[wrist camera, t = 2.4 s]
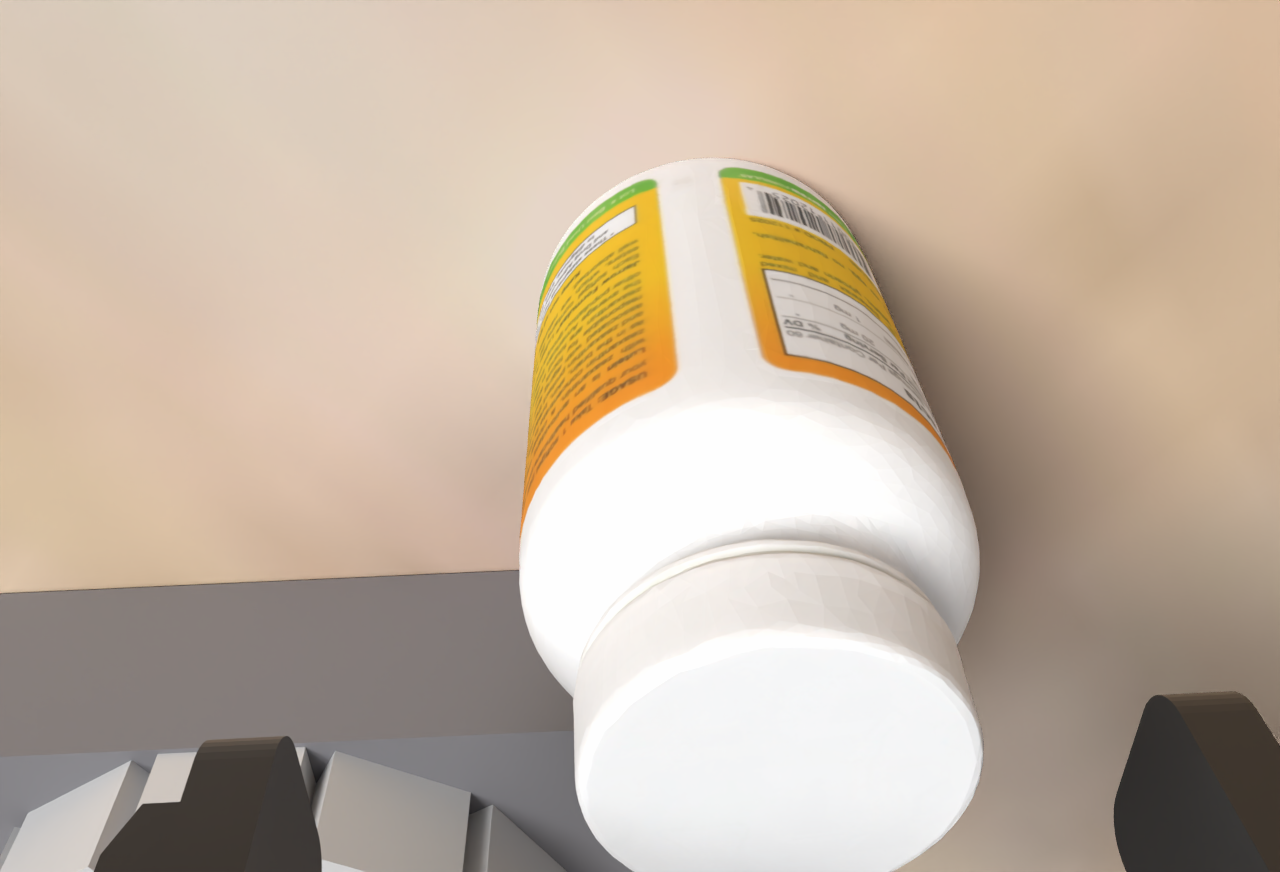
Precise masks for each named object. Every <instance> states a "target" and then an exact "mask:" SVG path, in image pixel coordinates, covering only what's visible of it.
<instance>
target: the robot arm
mask: <svg viewBox="0 0 1280 872" xmlns="http://www.w3.org/2000/svg"><path fill="white" fill-rule="evenodd" d="M1114 827H1115V835H1116V840H1117V845H1118V849H1119V853H1120V856H1121V859H1122V862H1123V864H1124V867H1125V869H1126V871H1127V872H1280V746H1279V744H1278V742H1277V741H1276V739H1275V738H1274V736H1273V735H1272V733H1271V731H1270V730H1269V728H1268V727H1267V725H1266V724H1265V722H1264V721H1263V719H1262V717H1261V716H1260V714H1259V713H1258V711H1257V710H1256V708H1255V707H1254V706H1253V704H1252V703H1251V702H1250V701H1249V700H1248V699H1247V698H1246V697H1245V696H1243V695H1242V694H1240V693H1238V692H1232V691H1230V692H1210V693H1190V694H1170V695H1156V696H1153V697H1152V698H1151V699H1150V700H1149V701H1148V703H1147V704H1146V706H1145V709H1144V712H1143V715H1142V718H1141V721H1140V724H1139V727H1138V730H1137V733H1136V736H1135V739H1134V742H1133V745H1132V748H1131V751H1130V754H1129V757H1128V760H1127V764H1126V767H1125V770H1124V773H1123V776H1122V779H1121V782H1120V785H1119V788H1118V791H1117V794H1116V798H1115V804H1114ZM94 872H322V856H321V845H320V839H319V834H318V830H317V827H316V823H315V819H314V815H313V812H312V808H311V804H310V801H309V797H308V793H307V789H306V786H305V782H304V778H303V774H302V771H301V767H300V763H299V760H298V756H297V752H296V749H295V746H294V743H293V741H292V739H291V738H290V737H288V736H275V737H256V738H236V739H216V740H206V741H205V742H204V743H202V745H201V746H200V747H199V749H198V751H197V753H196V756H195V758H194V761H193V764H192V767H191V770H190V773H189V776H188V779H187V782H186V785H185V788H184V791H183V794H182V797H181V800H180V802H166V803H147V804H142V805H141V806H140V807H139V809H138V810H137V811H136V812H135V813H134V815H133V816H132V817H131V818H130V819H129V821H128V822H127V823H126V824H125V825H124V827H123V828H122V829H121V830H120V831H119V833H118V834H117V835H116V836H115V837H114V839H113V840H112V841H111V842H110V843H109V845H108V846H107V847H106V848H105V849H104V851H103V852H102V853H101V854H100V856H99V859H98V862H97V864H96V867H95V870H94Z"/></svg>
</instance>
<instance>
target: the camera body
mask: <svg viewBox="0 0 1280 872" xmlns="http://www.w3.org/2000/svg"><path fill="white" fill-rule="evenodd" d="M519 573H520V570H518V571H496V572H474V573H452V574H430V575H408V576H385V577H363V578H341V579H319V580H297V581H275V582H252V583H230V584H208V585H186V586H164V587H142V588H120V589H97V590H75V591H53V592H31V593H9V594H0V872H94V870H95V867H96V864H97V862H98V859H99V856H100V854H101V853H102V852H103V851H104V849H105V848H106V847H107V846H108V845H109V843H110V842H111V841H112V840H113V839H114V837H115V836H116V835H117V834H118V833H119V831H120V830H121V829H122V828H123V827H124V825H125V824H126V823H127V822H128V821H129V819H130V818H131V817H132V816H133V815H134V813H135V812H136V811H137V810H138V809H139V807H140V806H141V805H142V804H147V803H166V802H180V800H181V797H182V794H183V791H184V788H185V785H186V782H187V779H188V776H189V773H190V770H191V767H192V764H193V761H194V758H195V756H196V753H197V751H198V749H199V747H200V746H201V745H202V743H204V742H205V741H206V740H216V739H236V738H256V737H275V736H288V737H290V738H291V739H292V741H293V743H294V746H295V749H296V752H297V756H298V760H299V763H300V767H301V771H302V774H303V778H304V782H305V786H306V789H307V793H308V797H309V801H310V804H311V808H312V812H313V815H314V819H315V823H316V827H317V830H318V834H319V839H320V845H321V856H322V872H634V871H632V870H630V869H629V868H628V867H626V866H625V865H624V864H622V863H621V862H619V861H618V860H617V859H615V858H614V857H613V856H612V855H611V854H610V853H609V852H608V851H606V849H605V848H604V847H603V846H602V845H601V844H600V843H599V842H598V840H597V839H596V838H595V836H594V835H593V833H592V831H591V830H590V828H589V826H588V824H587V822H586V821H585V819H584V816H583V813H582V810H581V807H580V805H579V801H578V797H577V793H576V786H575V763H574V712H573V699H574V698H573V697H572V696H571V695H570V694H569V693H568V692H567V691H566V690H565V689H564V688H563V686H562V685H561V684H560V683H559V682H558V681H557V680H556V679H555V677H554V676H553V675H552V673H551V672H550V671H549V669H548V668H547V666H546V664H545V663H544V661H543V660H542V658H541V656H540V655H539V653H538V651H537V649H536V647H535V645H534V643H533V640H532V638H531V636H530V633H529V630H528V627H527V624H526V621H525V617H524V612H523V608H522V603H521V594H520V586H519Z"/></svg>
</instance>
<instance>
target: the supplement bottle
mask: <svg viewBox="0 0 1280 872" xmlns="http://www.w3.org/2000/svg"><path fill="white" fill-rule="evenodd" d="M519 567H520V573H519V586H520V594H521V603H522V608H523V612H524V617H525V621H526V624H527V627H528V630H529V633H530V636H531V638H532V640H533V643H534V645H535V647H536V649H537V651H538V653H539V655H540V656H541V658H542V660H543V661H544V663H545V664H546V666H547V668H548V669H549V671H550V672H551V673H552V675H553V676H554V677H555V679H556V680H557V681H558V682H559V683H560V684H561V685H562V686H563V688H564V689H565V690H566V691H567V692H568V693H569V694H570V695H571V696H572V697H573V698H574V699H573V712H574V763H575V786H576V793H577V797H578V801H579V805H580V807H581V810H582V813H583V816H584V819H585V821H586V822H587V824H588V826H589V828H590V830H591V831H592V833H593V835H594V836H595V838H596V839H597V840H598V842H599V843H600V844H601V845H602V846H603V847H604V848H605V849H606V851H608V852H609V853H610V854H611V855H612V856H613V857H614V858H615V859H617V860H618V861H619V862H621V863H622V864H624V865H625V866H626V867H628V868H629V869H630V870H632V871H634V872H892V871H895V870H897V869H898V868H900V867H902V866H903V865H905V864H907V863H908V862H910V861H912V860H913V859H915V858H916V857H918V856H920V855H921V854H922V853H924V852H925V851H926V850H928V849H929V848H930V847H931V846H933V845H934V844H935V843H937V842H938V841H939V840H940V839H941V838H942V837H943V836H944V835H945V834H946V833H947V832H948V831H949V830H950V829H951V828H952V827H953V825H954V824H955V823H956V822H957V821H958V819H959V818H960V817H961V815H962V814H963V812H964V811H965V810H966V808H967V807H968V805H969V803H970V801H971V800H972V798H973V796H974V793H975V791H976V788H977V785H978V783H979V779H980V775H981V770H982V766H983V751H984V742H983V734H982V728H981V724H980V721H979V717H978V714H977V711H976V708H975V704H974V701H973V698H972V695H971V692H970V688H969V685H968V682H967V679H966V676H965V673H964V670H963V665H962V660H961V657H960V654H959V651H958V648H957V644H958V643H959V641H960V639H961V637H962V635H963V633H964V631H965V628H966V626H967V624H968V622H969V619H970V616H971V614H972V611H973V608H974V603H975V598H976V594H977V589H978V582H979V575H980V550H979V543H978V537H977V530H976V526H975V522H974V518H973V514H972V511H971V508H970V505H969V503H968V500H967V497H966V494H965V491H964V487H963V484H962V482H961V479H960V477H959V475H958V472H957V470H956V468H955V465H954V463H953V460H952V458H951V455H950V453H949V451H948V449H947V447H946V444H945V442H944V440H943V438H942V435H941V433H940V431H939V428H938V426H937V424H936V421H935V419H934V417H933V414H932V412H931V410H930V407H929V405H928V403H927V400H926V398H925V396H924V393H923V391H922V389H921V386H920V384H919V382H918V379H917V377H916V374H915V372H914V369H913V367H912V364H911V362H910V360H909V358H908V355H907V353H906V351H905V348H904V346H903V343H902V341H901V339H900V336H899V334H898V332H897V329H896V327H895V325H894V323H893V320H892V318H891V316H890V313H889V311H888V309H887V306H886V304H885V302H884V299H883V297H882V294H881V292H880V290H879V287H878V285H877V283H876V280H875V278H874V276H873V274H872V271H871V269H870V267H869V264H868V262H867V260H866V258H865V256H864V254H863V252H862V251H861V249H860V247H859V245H858V243H857V241H856V240H855V238H854V236H853V234H852V233H851V231H850V229H849V228H848V226H847V225H846V223H845V222H844V220H843V219H842V218H841V217H840V216H839V214H838V213H837V212H836V211H835V210H834V209H833V208H832V207H831V206H830V205H829V203H828V202H827V201H825V200H824V199H823V198H822V197H821V196H820V195H818V194H817V193H816V192H815V191H813V190H812V189H811V188H809V187H808V186H806V185H805V184H803V183H801V182H800V181H798V180H797V179H795V178H793V177H791V176H789V175H787V174H784V173H782V172H780V171H778V170H776V169H773V168H770V167H768V166H765V165H761V164H757V163H753V162H749V161H744V160H737V159H731V158H696V159H688V160H682V161H676V162H672V163H668V164H664V165H661V166H658V167H655V168H652V169H649V170H646V171H644V172H641V173H639V174H637V175H634V176H632V177H630V178H628V179H626V180H625V181H623V182H621V183H619V184H618V185H616V186H615V187H613V188H612V189H610V190H609V191H607V192H606V193H604V194H603V195H602V196H600V197H599V198H598V199H597V200H595V201H594V202H593V203H592V204H591V205H590V206H589V207H588V208H586V209H585V210H584V211H583V212H582V213H581V215H580V216H579V217H578V218H577V219H576V220H575V221H574V222H573V224H572V225H571V226H570V227H569V229H568V230H567V232H566V233H565V234H564V236H563V237H562V239H561V241H560V242H559V244H558V246H557V248H556V250H555V252H554V254H553V256H552V258H551V260H550V263H549V265H548V268H547V271H546V274H545V277H544V281H543V285H542V291H541V296H540V302H539V309H538V317H537V331H536V344H535V360H534V371H533V383H532V395H531V407H530V419H529V431H528V447H527V457H526V468H525V481H524V494H523V507H522V519H521V531H520V549H519Z"/></svg>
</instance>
